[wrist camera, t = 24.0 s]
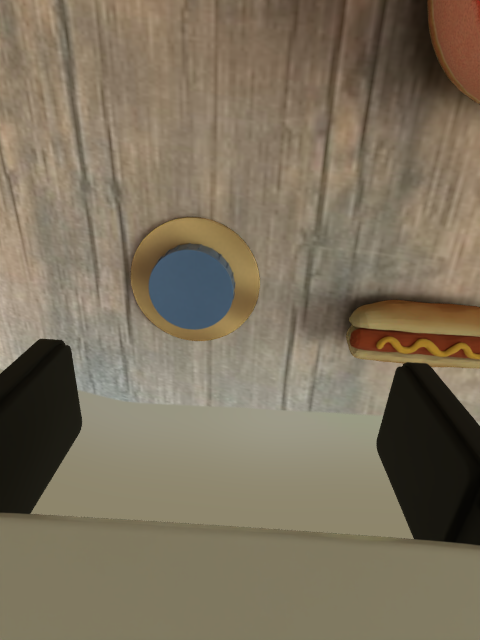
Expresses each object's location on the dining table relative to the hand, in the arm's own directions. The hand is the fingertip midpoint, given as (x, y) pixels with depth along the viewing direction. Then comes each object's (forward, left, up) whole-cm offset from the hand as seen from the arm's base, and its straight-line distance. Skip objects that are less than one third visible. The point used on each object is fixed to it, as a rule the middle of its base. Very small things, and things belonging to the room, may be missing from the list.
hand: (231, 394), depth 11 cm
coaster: (-4, +4, -21) cm, 22 cm away
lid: (-4, +4, -19) cm, 20 cm away
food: (-7, -16, -21) cm, 27 cm away
